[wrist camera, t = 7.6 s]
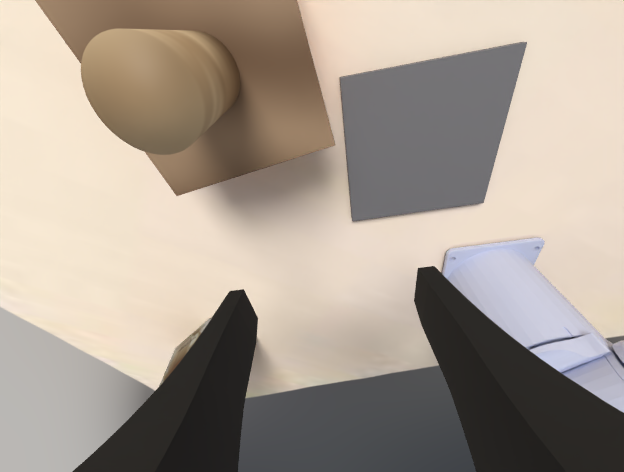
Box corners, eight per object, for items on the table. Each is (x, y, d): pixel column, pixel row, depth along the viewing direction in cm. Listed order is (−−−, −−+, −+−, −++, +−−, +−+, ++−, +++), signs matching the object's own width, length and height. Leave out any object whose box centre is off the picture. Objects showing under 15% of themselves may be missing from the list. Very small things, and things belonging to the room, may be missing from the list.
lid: (333, 140, 13) (347, 195, 9) (182, 189, 15) (127, 257, 10) (259, -139, 8) (197, -361, 4) (38, -18, 10) (-200, -63, 5)
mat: (480, 200, 20) (483, 202, 20) (351, 218, 21) (352, 221, 21) (522, 42, 14) (527, 42, 14) (339, 77, 15) (340, 78, 15)
